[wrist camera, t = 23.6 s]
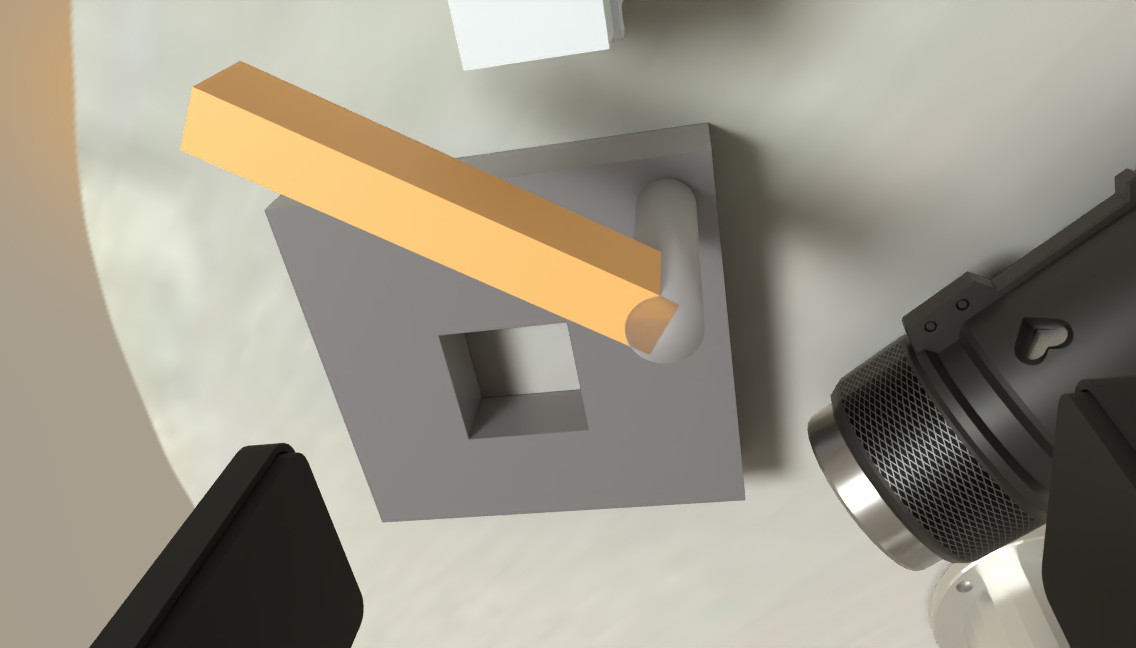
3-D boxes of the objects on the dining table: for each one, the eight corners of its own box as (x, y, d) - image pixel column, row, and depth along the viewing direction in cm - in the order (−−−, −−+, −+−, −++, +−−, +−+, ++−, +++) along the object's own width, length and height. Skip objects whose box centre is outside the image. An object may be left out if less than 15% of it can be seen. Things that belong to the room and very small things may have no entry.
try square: (707, 193, 33) (719, 315, 25) (678, 243, 35) (681, 375, 26) (320, 13, 31) (194, 80, 23) (304, 72, 33) (179, 156, 24)
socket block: (740, 454, 44) (745, 500, 41) (400, 478, 48) (382, 522, 45) (708, 122, 36) (711, 149, 33) (295, 180, 39) (264, 210, 36)
